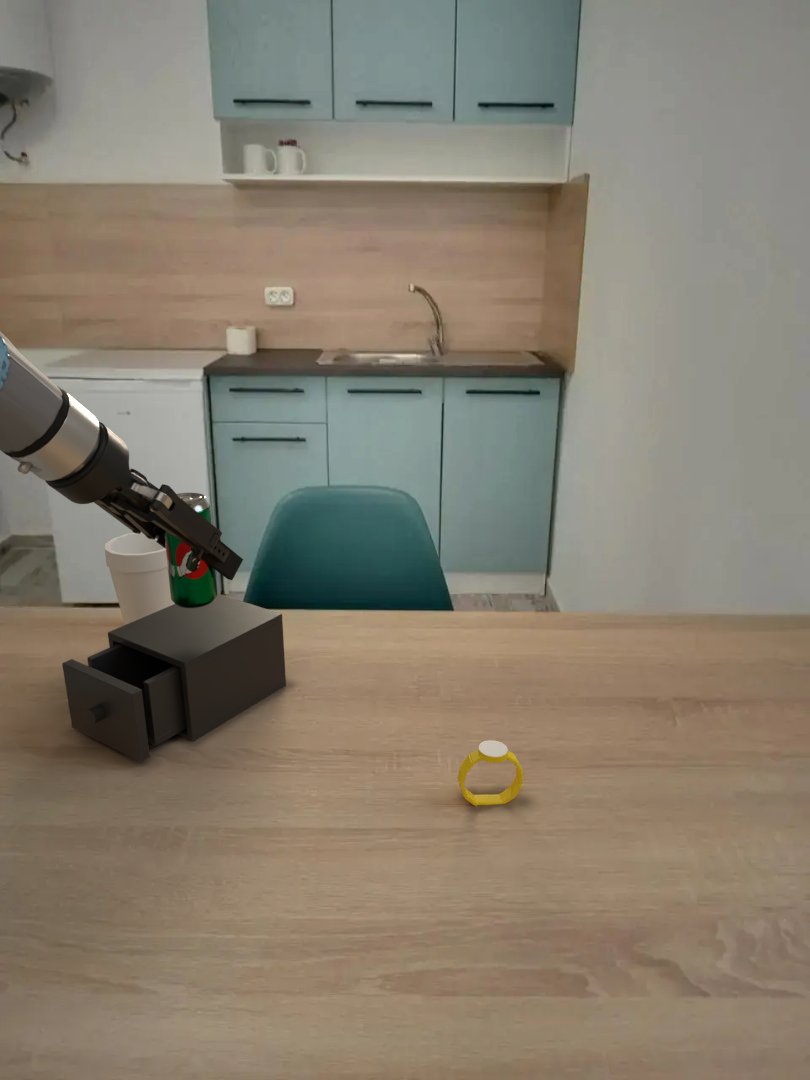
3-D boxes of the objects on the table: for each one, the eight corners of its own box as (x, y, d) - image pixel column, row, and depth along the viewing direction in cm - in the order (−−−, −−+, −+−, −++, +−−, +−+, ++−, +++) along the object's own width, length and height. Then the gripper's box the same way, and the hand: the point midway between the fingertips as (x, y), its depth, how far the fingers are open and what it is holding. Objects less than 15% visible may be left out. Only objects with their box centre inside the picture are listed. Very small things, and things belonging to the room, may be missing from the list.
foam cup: (169, 650, 108) (159, 557, 104) (103, 645, 110) (90, 553, 105) (197, 619, 117) (189, 533, 113) (136, 615, 118) (126, 529, 114)
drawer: (130, 768, 82) (121, 699, 80) (61, 732, 88) (51, 667, 86) (238, 705, 94) (233, 642, 91) (170, 677, 100) (164, 618, 97)
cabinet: (192, 743, 88) (184, 663, 85) (117, 708, 95) (107, 632, 92) (286, 687, 99) (282, 613, 96) (213, 658, 106) (207, 589, 103)
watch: (461, 814, 77) (462, 759, 75) (455, 795, 80) (456, 742, 78) (523, 808, 78) (527, 754, 76) (516, 790, 80) (519, 737, 78)
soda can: (227, 597, 94) (219, 495, 90) (195, 613, 90) (185, 507, 86) (194, 588, 96) (184, 489, 92) (161, 604, 92) (150, 500, 88)
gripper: (-7, 470, 80) (148, 576, 98) (112, 500, 70) (260, 611, 89) (35, 407, 82) (179, 522, 101) (155, 428, 73) (291, 551, 91)
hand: (217, 563), depth 95 cm, fingers closed on soda can, 5 cm apart
